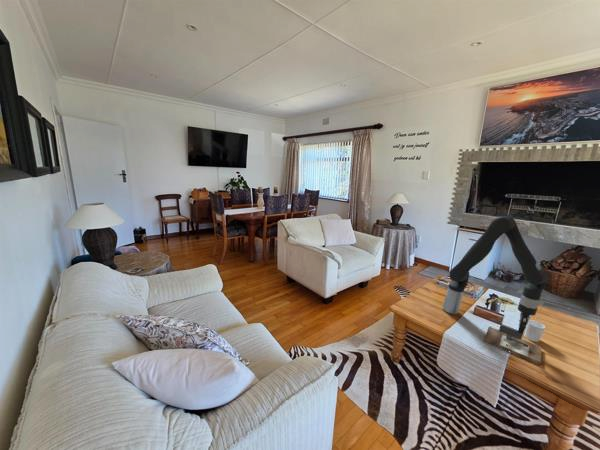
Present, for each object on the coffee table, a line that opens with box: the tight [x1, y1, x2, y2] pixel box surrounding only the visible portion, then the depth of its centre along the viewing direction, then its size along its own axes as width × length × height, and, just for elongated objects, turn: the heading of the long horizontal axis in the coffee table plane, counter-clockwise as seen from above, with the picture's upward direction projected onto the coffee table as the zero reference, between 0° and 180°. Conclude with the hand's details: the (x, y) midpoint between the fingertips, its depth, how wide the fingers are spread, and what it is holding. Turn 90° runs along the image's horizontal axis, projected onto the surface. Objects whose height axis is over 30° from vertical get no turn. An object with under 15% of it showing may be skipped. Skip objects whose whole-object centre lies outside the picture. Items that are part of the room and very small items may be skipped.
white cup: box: [523, 319, 546, 343], centre depth 146 cm, size 8×8×10 cm
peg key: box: [498, 323, 529, 346], centre depth 141 cm, size 14×2×7 cm, turn 46°
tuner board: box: [483, 326, 542, 366], centre depth 140 cm, size 24×16×2 cm, turn 46°
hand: (520, 329), depth 138 cm, fingers open, 8 cm apart
